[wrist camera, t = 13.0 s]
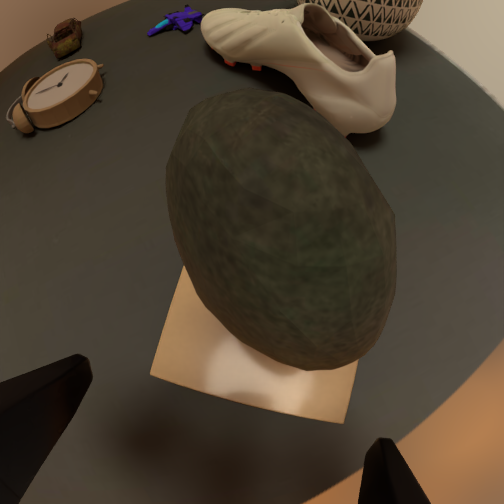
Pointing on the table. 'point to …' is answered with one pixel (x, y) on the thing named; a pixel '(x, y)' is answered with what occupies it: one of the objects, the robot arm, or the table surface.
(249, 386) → the shoe shelf
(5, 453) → the robot arm
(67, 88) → the alarm clock
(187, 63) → the table surface
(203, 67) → the table surface
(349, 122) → the soccer cleat
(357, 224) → the decorative stone
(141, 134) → the table surface
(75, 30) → the toy car
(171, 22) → the toy spaceship
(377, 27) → the planter
